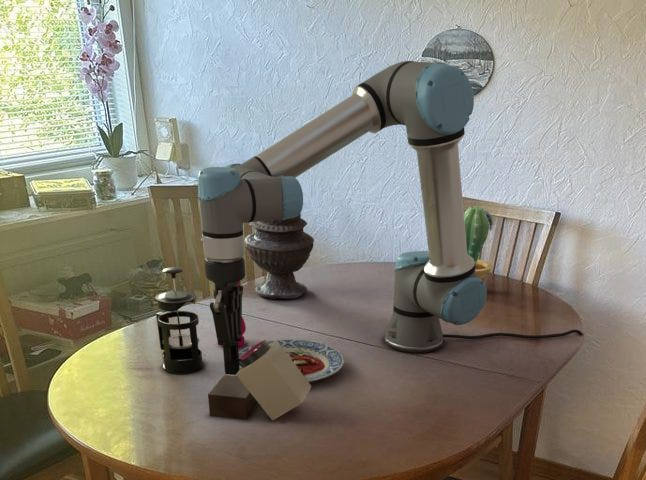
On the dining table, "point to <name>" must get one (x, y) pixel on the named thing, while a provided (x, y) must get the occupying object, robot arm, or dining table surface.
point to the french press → (179, 348)
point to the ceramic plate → (310, 358)
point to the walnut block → (231, 399)
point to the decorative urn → (280, 255)
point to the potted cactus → (477, 237)
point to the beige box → (272, 378)
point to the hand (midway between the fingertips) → (232, 373)
